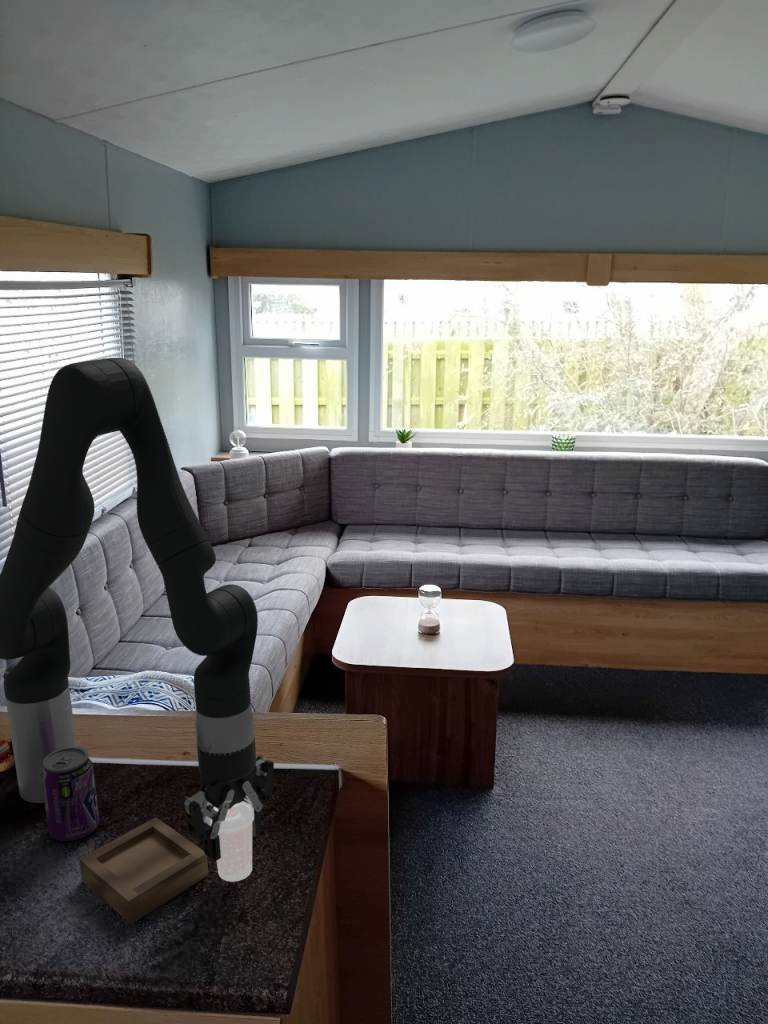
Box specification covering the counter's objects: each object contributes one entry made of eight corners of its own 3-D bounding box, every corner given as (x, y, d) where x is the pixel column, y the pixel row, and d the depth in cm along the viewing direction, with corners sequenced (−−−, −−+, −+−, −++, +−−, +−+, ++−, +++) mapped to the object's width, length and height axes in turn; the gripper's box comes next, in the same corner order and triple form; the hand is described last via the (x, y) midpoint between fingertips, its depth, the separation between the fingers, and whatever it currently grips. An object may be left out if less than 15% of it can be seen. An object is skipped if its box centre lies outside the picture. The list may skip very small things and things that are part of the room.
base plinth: (82, 881, 115) (79, 859, 114) (158, 837, 124) (155, 817, 123) (131, 924, 108) (128, 901, 107) (208, 874, 116) (206, 853, 115)
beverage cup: (240, 849, 121) (234, 762, 117) (266, 869, 117) (261, 780, 113) (203, 870, 117) (196, 781, 113) (229, 892, 113) (222, 800, 109)
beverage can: (83, 848, 122) (74, 774, 119) (39, 842, 123) (28, 769, 120) (108, 817, 129) (100, 747, 125) (66, 812, 130) (57, 742, 127)
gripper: (250, 705, 119) (256, 809, 123) (162, 748, 108) (172, 859, 113) (286, 723, 114) (291, 831, 119) (197, 770, 104) (207, 885, 108)
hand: (233, 844), depth 116 cm, fingers closed on beverage cup, 6 cm apart
